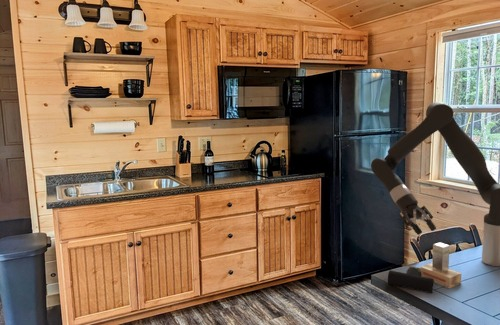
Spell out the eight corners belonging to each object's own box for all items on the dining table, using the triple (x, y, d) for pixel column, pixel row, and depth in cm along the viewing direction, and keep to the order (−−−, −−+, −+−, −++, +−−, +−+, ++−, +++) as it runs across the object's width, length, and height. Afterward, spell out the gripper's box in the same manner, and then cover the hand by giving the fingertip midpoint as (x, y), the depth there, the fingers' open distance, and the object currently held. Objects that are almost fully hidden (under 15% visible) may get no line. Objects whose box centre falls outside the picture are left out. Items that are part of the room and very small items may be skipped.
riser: (431, 272, 152) (432, 262, 152) (460, 283, 142) (461, 273, 141) (419, 276, 148) (420, 267, 148) (448, 288, 138) (449, 278, 138)
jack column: (438, 267, 147) (439, 242, 146) (448, 270, 144) (449, 245, 143) (432, 269, 145) (433, 244, 144) (442, 273, 142) (442, 247, 141)
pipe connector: (395, 261, 151) (436, 269, 143) (394, 274, 152) (436, 282, 144) (387, 272, 142) (431, 281, 133) (387, 286, 142) (431, 295, 134)
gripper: (397, 195, 150) (421, 230, 142) (420, 190, 157) (445, 223, 149) (386, 205, 156) (409, 240, 147) (409, 200, 163) (432, 233, 154)
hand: (427, 231), depth 148 cm, fingers open, 8 cm apart
